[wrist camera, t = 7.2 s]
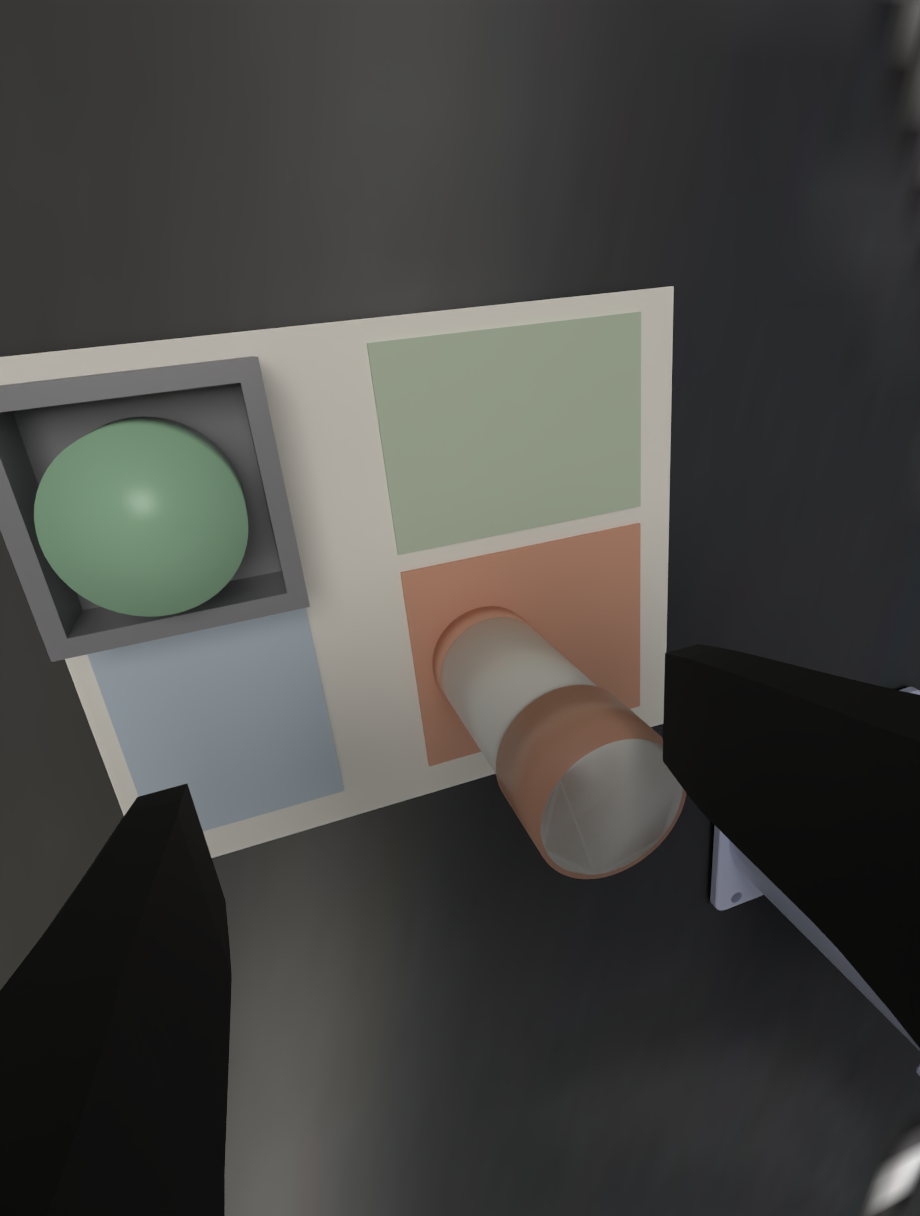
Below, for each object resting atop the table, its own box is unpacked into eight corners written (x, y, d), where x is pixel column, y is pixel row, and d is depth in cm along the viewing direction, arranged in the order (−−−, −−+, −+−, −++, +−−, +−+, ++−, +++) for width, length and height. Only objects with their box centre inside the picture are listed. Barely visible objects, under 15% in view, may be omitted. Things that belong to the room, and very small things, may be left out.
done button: (223, 404, 13) (223, 412, 11) (261, 568, 14) (266, 594, 13) (31, 429, 12) (1, 442, 11) (90, 601, 13) (72, 634, 12)
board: (650, 289, 18) (675, 285, 17) (647, 708, 23) (666, 724, 22) (-30, 361, 14) (-49, 362, 13) (150, 852, 19) (146, 879, 18)
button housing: (252, 356, 14) (258, 357, 12) (298, 573, 16) (309, 606, 14) (-8, 385, 13) (-53, 393, 11) (75, 618, 15) (51, 661, 13)
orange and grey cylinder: (533, 592, 18) (690, 715, 12) (539, 692, 20) (684, 849, 13) (423, 617, 18) (531, 761, 11) (436, 719, 19) (540, 900, 13)
